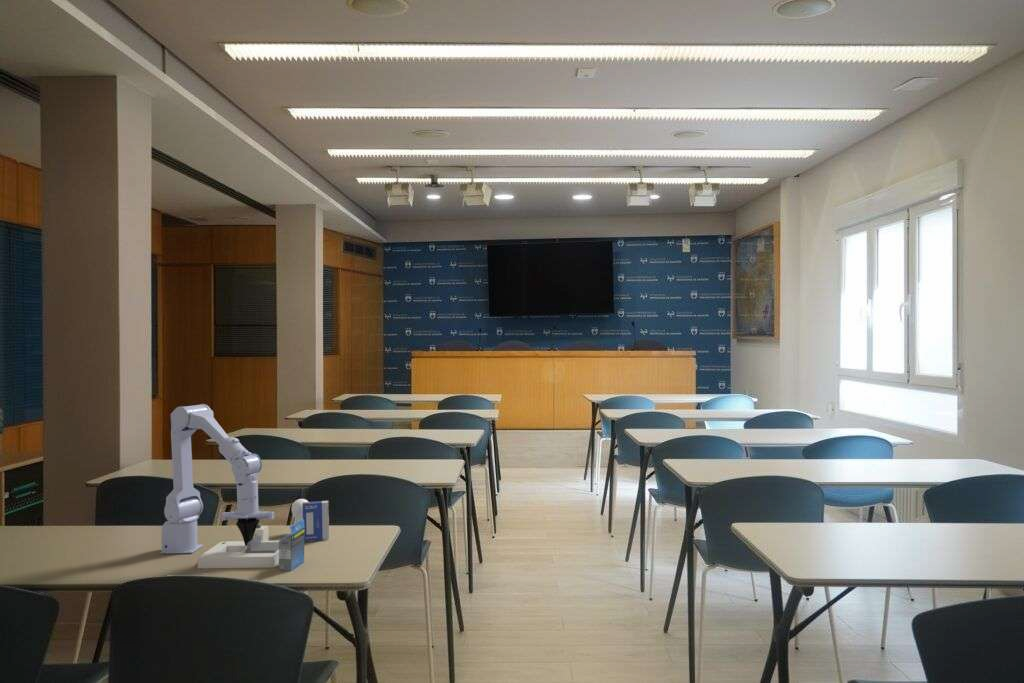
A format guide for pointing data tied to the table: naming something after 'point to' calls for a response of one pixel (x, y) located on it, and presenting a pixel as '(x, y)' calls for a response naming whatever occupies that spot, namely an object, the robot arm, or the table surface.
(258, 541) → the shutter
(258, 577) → the table surface
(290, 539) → the label tape box
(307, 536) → the walkman
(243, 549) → the socket board
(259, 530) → the plug
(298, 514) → the lightbulb
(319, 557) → the table surface
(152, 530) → the table surface
